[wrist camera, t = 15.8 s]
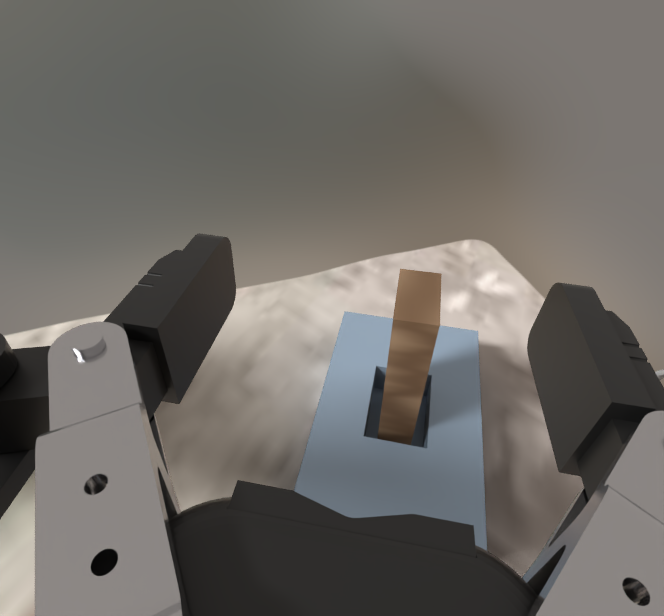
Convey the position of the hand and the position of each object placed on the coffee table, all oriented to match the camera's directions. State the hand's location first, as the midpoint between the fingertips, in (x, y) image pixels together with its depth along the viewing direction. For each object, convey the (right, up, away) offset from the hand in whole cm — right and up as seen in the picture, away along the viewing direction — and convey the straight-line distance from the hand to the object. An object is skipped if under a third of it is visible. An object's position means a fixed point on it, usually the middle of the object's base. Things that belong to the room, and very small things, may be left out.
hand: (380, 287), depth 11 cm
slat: (+4, -10, +23) cm, 26 cm away
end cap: (+4, -11, +24) cm, 27 cm away
